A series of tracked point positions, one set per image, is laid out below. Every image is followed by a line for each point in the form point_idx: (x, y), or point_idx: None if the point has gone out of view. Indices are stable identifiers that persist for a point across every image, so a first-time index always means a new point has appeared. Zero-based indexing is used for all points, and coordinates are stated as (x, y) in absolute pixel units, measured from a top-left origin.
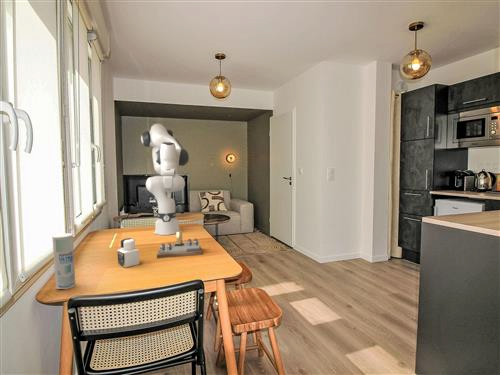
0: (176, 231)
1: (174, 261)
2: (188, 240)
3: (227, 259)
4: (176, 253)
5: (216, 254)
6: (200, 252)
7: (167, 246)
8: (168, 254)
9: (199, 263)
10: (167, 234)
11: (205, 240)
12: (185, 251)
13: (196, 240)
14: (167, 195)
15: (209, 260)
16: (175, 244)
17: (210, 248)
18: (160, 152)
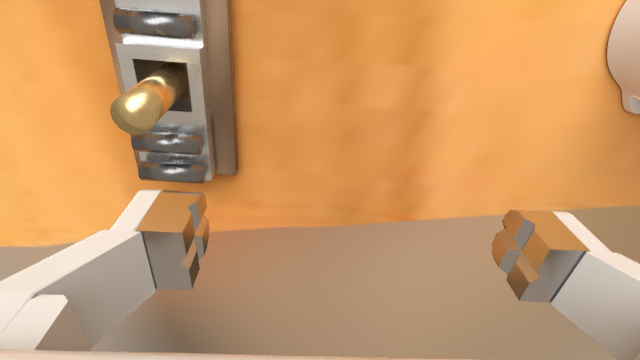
0: (133, 98)
1: (37, 38)
2: (171, 141)
3: (76, 234)
4: (115, 56)
5: None
6: (138, 163)
7: (123, 12)
8: (102, 11)
9: (17, 142)
10: (617, 20)
11: (373, 201)
12: None
13: (157, 177)
14: (126, 208)
15: (61, 180)
16: (188, 63)
17: (233, 203)
18: None
